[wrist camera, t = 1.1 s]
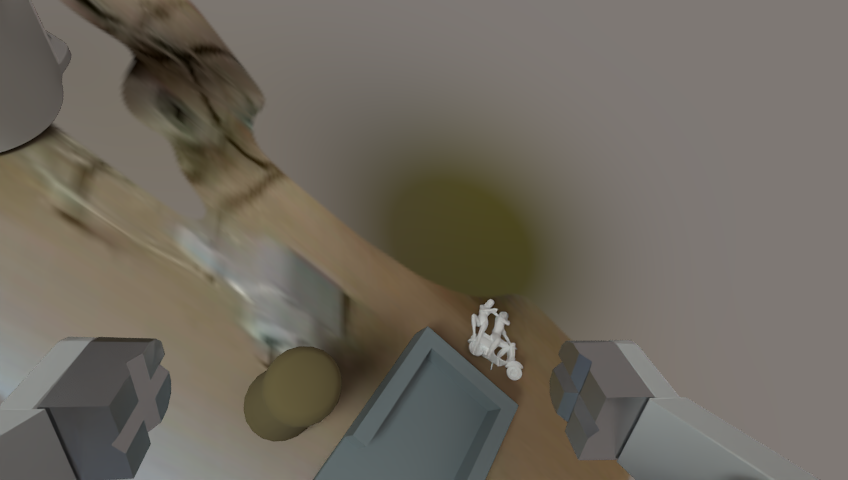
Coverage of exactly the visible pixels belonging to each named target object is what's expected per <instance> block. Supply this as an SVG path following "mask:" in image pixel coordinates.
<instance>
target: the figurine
mask: <svg viewBox="0 0 848 480" xmlns="http://www.w3.org/2000/svg"><path fill="white" fill-rule="evenodd" d="M493 305H494V300H492V299H489V300H488V301H487V302H486V303H485V304H484V305H480V310H479V315H478V316H476V315H475V314H472V328H473V335H472V336H471V338H470V339H469V340H468V342H469V343H470V344H469V350H470V352H471V353H472V354H473V355H475V356H481V355H482V357H485V358H486V359H488V360H489V361H491V362H492V363H491V369H490V370H492V366H493V363H494V364H496V365H497V366H498V367H499V366H503V365H506V364H507V365H506V366H505V367H506V368H507V371H506V373H507V376H508V377H509V378H510V379H511V380H519V379H520V378H521V376H522V370H521V368H522V369H523V366H522V364H521V363H519V362H518V361H515V349H516V347H515V345H516V344H515V343H511V342H510V340H509V338H508V337H507V335H506V331H505V330H504V325H505V324H507V325H510V321H509V322H508V320H507V318H508V315H507V312H500V314H497V313H496V312H497V310H498V309H496V308H493V309H490V308H491V307H492V306H493ZM491 313H493V314H494V315H495V316H496V318H495V326H494V328H493V330H492V334H491V335H490V336H489V335H488V334H486V333H484V332H485V330H486V328H487V326H488V319H487V317H488V316H489V315H490V314H491ZM476 326H478V327H480V330H479V333H478V336H476V333H475V328H476ZM501 334H502V335H503V336H504V338H505V339H506V341H507V342H505V341H504V340H502V339H501ZM508 344H509V345H510V346H509V345H508ZM498 346H499V347H501V348H502V349H501V350H500V351H499V352H498V353H497V356H496V355H495V353H494V350H495V349H496V348H497V347H498ZM516 350H517V349H516ZM506 352H507V360H506V361H504V360H502V359H501V357H502V356H503V355H504V354H505V353H506Z"/></svg>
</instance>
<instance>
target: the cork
mask: <svg viewBox="0 0 848 480" xmlns="http://www.w3.org/2000/svg"><path fill="white" fill-rule="evenodd" d="M341 389H342V377H341V374H340V370H339V367H338V365H337V364H336V362H335V361H334V359H333V358H332V357H331V356H330V355H328V354H327V353H326V352H324V351H323V350H320V349H317V348H314V347H296V348H293V349H289V350H287V351H285V352H284V353H282V354H281V355H279V356H278V357H277V358H276V359H275V360H274V361H273V363H272V364H271V365H270V366H269V368H268V369H267V371H265V372H264V373H262V374H261V375H259V376H258V377H257V378H256V379H255V380H254V382H253V383H252V384H251V385H250V387H249V389H248V391H247V394H246V396H245V401H244V413H245V418H246V422H247V423H248V425H249V426H250V428H251V429H252V431H253V432H254V433H256V434H257V435H258V436H260V437H261V438H263V439H267V440H270V441H286V440H288V439H291V438H293V437H296V436H298V435H299V434H300V433H301V432H303V431H304V430H305V429H306V428H307V427H308V426H310V425H313V424H315V423H318V422H320V421H322V420H323V419H324V418H325V417H326V416H328V415H329V414H330V413H331V412H332V410H333V409H334V407H335V406H336V404H337V403H338V400H339V396H340V393H341Z"/></svg>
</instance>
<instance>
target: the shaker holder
mask: <svg viewBox="0 0 848 480" xmlns="http://www.w3.org/2000/svg"><path fill="white" fill-rule="evenodd" d="M518 406H519V405H517V404H516V403H515V402H514V401H513V400H512V399H511V398H509V397H508V396H507V395H506V394H505V393H504V392H503V391H501V390H500V389H499V388H498V387H497V386H496V385H495V384H493V383H492V382H491V381H490V380H489V379H488V378H487V377H485V376H484V375H483V374H482V373H481V372H480V371H479V370H477V369H476V368H475V367H474V366H473V365H472V364H470V363H469V362H468V361H467V360H466V359H465V358H464V357H462V356H461V355H460V354H459V353H458V352H457V351H456V350H454V349H453V348H452V347H451V346H450V345H449V344H448V343H446V342H445V341H444V340H443V339H442V338H441V337H440V336H438V335H437V334H436V333H435V332H434V331H433V330H432V329H430V328H429V327H428V326H427V327H426V328H424V329H423V330H421V331H419V332H418V333H416V334H415V335H414V337H413V338H412V340H411V341H410V342H409V344H408V345H407V347H406V348H405V350H404V351H403V352H402V354H401V355H400V357H399V358H398V360H397V361H396V362H395V364H394V365H393V367H392V368H391V370H390V371H389V372H388V374H387V375H386V377H385V378H384V379H383V381H382V382H381V384H380V385H379V387H378V388H377V389H376V391H375V392H374V394H373V395H372V397H371V398H370V399H369V401H368V402H367V404H366V405H365V407H364V408H363V409H362V411H361V412H360V414H359V415H358V416H357V418H356V419H355V421H354V422H353V424H352V425H351V426H350V428H349V429H348V431H347V432H346V434H345V435H344V436H343V438H342V439H341V441H340V442H339V444H338V445H337V446H336V448H335V449H334V451H333V452H332V453H331V455H330V456H329V458H328V459H327V461H326V462H325V463H324V465H323V466H322V468H321V469H320V471H319V472H318V473H317V475H316V476H315V478H314V479H313V480H485V479H486V476H487V474H488V472H489V470H490V468H491V465H492V463H493V461H494V459H495V456H496V454H497V452H498V450H499V448H500V445H501V443H502V441H503V439H504V437H505V434H506V432H507V430H508V428H509V425H510V423H511V421H512V419H513V417H514V414H515V412H516V410H517V408H518Z"/></svg>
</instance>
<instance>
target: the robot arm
mask: <svg viewBox="0 0 848 480" xmlns="http://www.w3.org/2000/svg"><path fill="white" fill-rule="evenodd" d="M70 60H71V53H70V50H69V48H68V46H67V45H66V43H65V42H63V41H62V40H61V39H59V38H57V37H56V36H54V35H52V34H51V33H49V32H48V31H46V30H45V29H44V27H43V25H42V23H41V20H40V18H39V16H38V14H37V12H36V10H35V7H34V5H33V3H32V1H31V0H0V152H3V151H7V150H9V149H12V148H15V147H17V146H20V145H22V144H24V143H26V142H28V141H29V140H31V139H33V138H35V137H36V136H38V135H39V134H40V133H42V132H43V131H44V130H45V129H46V128H47V127H48V126H49V125H50V124H51V123H52V122H53V121H54V119H55V118H56V116H57V115H58V113H59V111H60V109H61V105H62V102H63V86H62V74H63V72H64V70H65V69H66V67H67V66H68V64H69V62H70ZM164 355H165V353H164V349H163V346H162V342H161V341H160V340H157V339H150V338H114V337H98V338H91V337H67V338H65V339H62V340H60V341H59V342H58V343H57V344H56V345H55V346H54V347H53V348H52V349H51V350H50V351H49V352H48V354H47V355H46V356H45V357H44V358H43V359H42V360H41V361H40V362H39V363H38V365H37V366H36V367H35V368H34V369H33V370H32V371H31V372H30V373H29V374H28V376H27V377H26V378H25V379H24V380H23V381H22V382H21V383H20V384H19V385H18V387H17V388H16V389H15V390H14V391H13V392H12V393H11V394H10V395H9V396H8V398H7V399H6V400H5V401H4V402H3V403H2V404H1V405H0V480H117V479H132V478H134V477H135V475H136V473H137V471H138V469H139V466H140V464H141V462H142V460H143V458H144V456H145V454H146V452H147V450H148V448H149V446H150V444H151V443H150V439H149V436H148V432H149V431H150V430H152V429H153V428H154V427H155V426H157V425H158V424H159V423H161V421H162V419H163V417H164V415H165V413H166V411H167V408H168V404H169V399H170V395H171V379H170V374H169V371H167V370H166V369H165V368H164V367H163V366H161V365H160V362H161V360H162V359H163V357H164ZM558 355H559V357H560V358H561V360H562V362H561V363H560V364H559V365H558V366H557V367H555V368H554V369H553V371H552V375H551V378H550V396H551V400H552V404H553V406H554V408H555V410H556V413H557V414H558V415H560V416H561V417H562V418H563V419H564V420H566V421H567V422H568V423H567V426H566V430H565V432H566V434H567V437H568V439H569V441H570V443H571V445H572V447H573V449H574V451H575V454H576V456H577V458H578V460H617V462H618V463H619V464H620V465H621V466H622V467H623V468H624V469H625V470H626V471H627V472H628V473H629V474H630V475H631V476H632V477H633V478H634V479H635V480H820V479H818V478H817V477H815V476H814V475H812V474H810V473H809V472H807V471H805V470H804V469H802V468H801V467H799V466H797V465H796V464H794V463H792V462H791V461H789V460H787V459H786V458H784V457H783V456H781V455H779V454H778V453H776V452H774V451H773V450H771V449H770V448H768V447H766V446H765V445H763V444H761V443H760V442H758V441H757V440H755V439H753V438H751V437H750V436H748V435H747V434H745V433H744V432H742V431H740V430H738V429H737V428H735V427H734V426H732V425H730V424H729V423H727V422H726V421H724V420H722V419H721V418H719V417H717V416H716V415H714V414H713V413H711V412H709V411H708V410H706V409H704V408H702V407H701V406H700V405H698V404H696V403H695V402H693V401H691V400H690V399H688V398H680V397H679V396H678V395H677V393H676V392H675V391H674V390H673V388H672V387H671V386H670V384H669V383H668V382H667V381H666V379H665V378H664V377H663V376H662V375H661V373H660V372H659V371H658V369H657V368H656V367H655V366H654V364H653V363H652V362H651V361H650V359H649V358H648V357H647V356H646V354H645V353H644V352H643V351H642V349H641V348H640V347H639V345H638V344H636V343H635V342H633V341H631V340H609V341H565V343H564V344H563V345H562V346H561V349H560V351H559V354H558Z"/></svg>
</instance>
